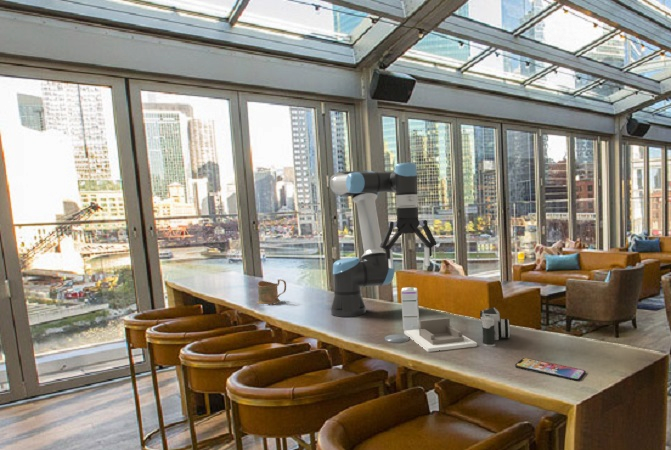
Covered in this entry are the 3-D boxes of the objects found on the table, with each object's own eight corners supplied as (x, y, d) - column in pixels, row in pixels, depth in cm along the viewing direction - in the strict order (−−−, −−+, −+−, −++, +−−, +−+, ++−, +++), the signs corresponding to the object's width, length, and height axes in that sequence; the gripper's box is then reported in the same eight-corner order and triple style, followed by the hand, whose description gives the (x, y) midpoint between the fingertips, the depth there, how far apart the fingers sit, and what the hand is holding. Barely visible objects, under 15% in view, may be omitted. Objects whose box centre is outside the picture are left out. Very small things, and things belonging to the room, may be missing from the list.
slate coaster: (381, 338, 138) (381, 335, 138) (403, 335, 139) (403, 333, 139) (389, 345, 130) (389, 342, 130) (412, 342, 132) (412, 340, 132)
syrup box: (419, 330, 143) (417, 290, 143) (402, 330, 144) (400, 290, 144) (419, 326, 148) (417, 287, 148) (403, 326, 150) (401, 287, 149)
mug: (278, 306, 194) (277, 281, 193) (252, 303, 203) (250, 280, 203) (293, 301, 203) (292, 278, 203) (267, 299, 213) (266, 276, 213)
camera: (511, 348, 121) (509, 315, 121) (480, 346, 124) (479, 314, 124) (508, 333, 136) (507, 303, 136) (481, 331, 139) (480, 302, 139)
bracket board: (404, 333, 141) (403, 316, 140) (447, 329, 144) (446, 312, 143) (428, 351, 121) (427, 331, 121) (477, 346, 124) (476, 326, 124)
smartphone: (579, 380, 96) (513, 365, 106) (579, 383, 96) (513, 368, 106) (586, 370, 101) (523, 357, 111) (586, 374, 101) (524, 360, 111)
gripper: (376, 208, 137) (378, 270, 138) (444, 205, 142) (446, 265, 142) (370, 208, 145) (372, 267, 145) (435, 205, 149) (437, 263, 150)
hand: (409, 266), depth 144 cm, fingers open, 13 cm apart
